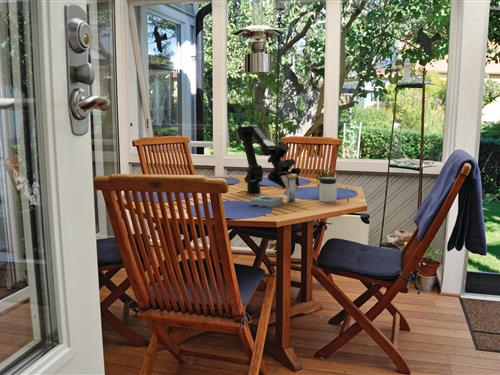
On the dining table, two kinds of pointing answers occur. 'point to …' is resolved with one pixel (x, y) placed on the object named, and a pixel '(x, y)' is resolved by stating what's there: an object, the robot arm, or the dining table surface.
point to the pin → (291, 187)
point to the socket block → (267, 201)
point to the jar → (327, 189)
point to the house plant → (323, 175)
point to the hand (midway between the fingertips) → (291, 186)
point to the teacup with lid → (287, 180)
